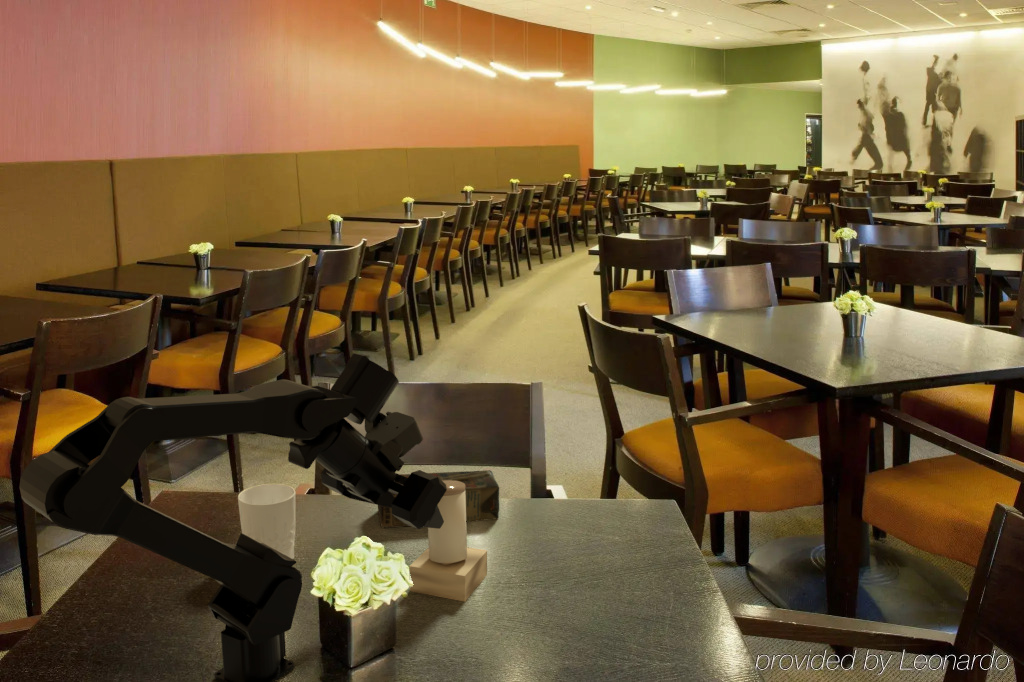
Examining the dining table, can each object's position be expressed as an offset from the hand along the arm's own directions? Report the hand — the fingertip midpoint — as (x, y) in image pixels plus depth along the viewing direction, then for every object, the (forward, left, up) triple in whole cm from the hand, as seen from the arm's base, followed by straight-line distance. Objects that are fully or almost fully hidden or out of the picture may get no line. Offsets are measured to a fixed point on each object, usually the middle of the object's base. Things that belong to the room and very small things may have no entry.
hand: (417, 514), depth 117 cm
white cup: (-2, +25, -12) cm, 27 cm away
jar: (+5, -2, -8) cm, 9 cm away
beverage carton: (+23, +13, -12) cm, 29 cm away
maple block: (+5, -1, -12) cm, 13 cm away
